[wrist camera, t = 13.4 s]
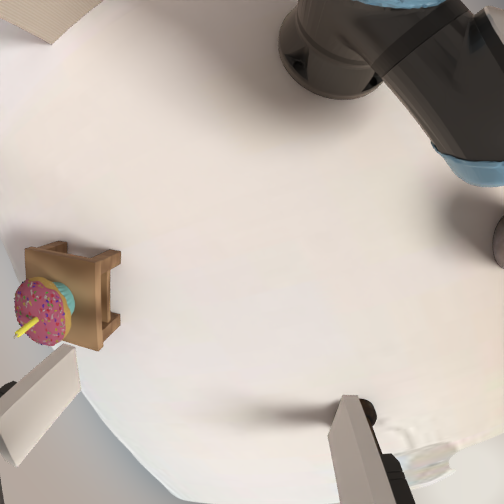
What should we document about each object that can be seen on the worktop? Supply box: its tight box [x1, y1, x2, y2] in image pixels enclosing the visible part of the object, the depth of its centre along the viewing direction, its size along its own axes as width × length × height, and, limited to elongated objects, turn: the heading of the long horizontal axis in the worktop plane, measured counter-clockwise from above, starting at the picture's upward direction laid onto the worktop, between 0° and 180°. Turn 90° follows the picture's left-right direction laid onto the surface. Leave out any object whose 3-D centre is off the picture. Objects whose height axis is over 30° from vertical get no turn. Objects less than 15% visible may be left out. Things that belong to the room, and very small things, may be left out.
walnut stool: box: [25, 241, 121, 351], centre depth 40 cm, size 12×12×8 cm
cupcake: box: [14, 277, 75, 346], centre depth 30 cm, size 9×8×12 cm
